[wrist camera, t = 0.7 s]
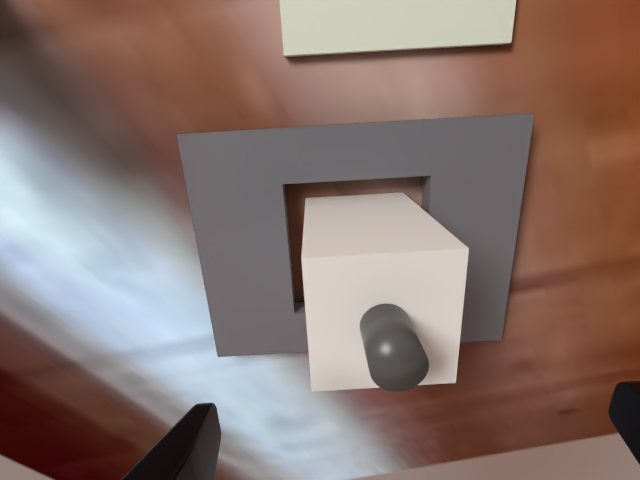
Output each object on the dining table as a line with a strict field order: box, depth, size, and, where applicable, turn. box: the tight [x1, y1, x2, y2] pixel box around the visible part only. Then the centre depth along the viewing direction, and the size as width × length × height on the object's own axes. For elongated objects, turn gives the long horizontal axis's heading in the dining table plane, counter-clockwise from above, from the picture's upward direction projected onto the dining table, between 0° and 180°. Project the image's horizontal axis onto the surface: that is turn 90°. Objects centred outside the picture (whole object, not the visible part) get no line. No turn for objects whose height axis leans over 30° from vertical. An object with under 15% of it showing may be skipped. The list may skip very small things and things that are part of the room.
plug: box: [301, 192, 469, 392], centre depth 14 cm, size 5×5×10 cm
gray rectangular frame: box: [177, 114, 534, 357], centre depth 18 cm, size 16×12×1 cm
